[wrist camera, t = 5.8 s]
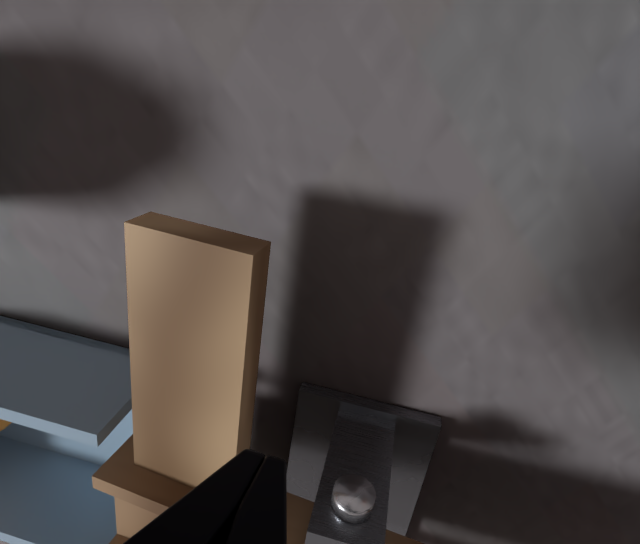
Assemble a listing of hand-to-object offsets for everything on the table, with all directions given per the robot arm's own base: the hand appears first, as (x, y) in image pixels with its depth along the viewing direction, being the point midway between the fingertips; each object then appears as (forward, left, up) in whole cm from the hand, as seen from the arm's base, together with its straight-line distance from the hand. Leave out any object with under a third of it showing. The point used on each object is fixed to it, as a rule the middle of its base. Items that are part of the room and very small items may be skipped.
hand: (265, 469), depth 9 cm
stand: (-2, +10, -10) cm, 14 cm away
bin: (+13, +10, -10) cm, 19 cm away
